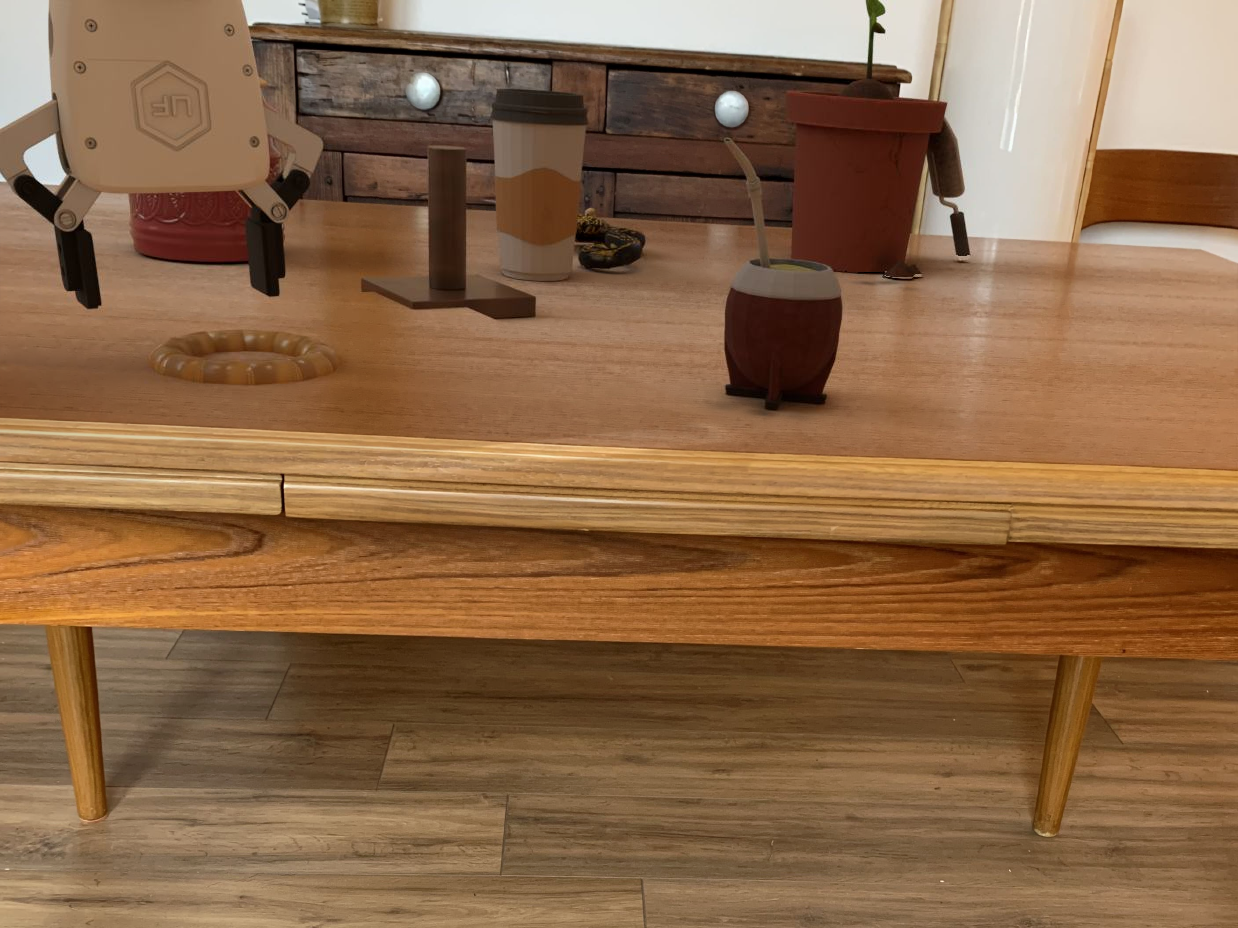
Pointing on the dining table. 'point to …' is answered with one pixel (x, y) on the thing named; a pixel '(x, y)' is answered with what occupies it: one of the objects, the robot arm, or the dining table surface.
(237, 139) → the robot arm
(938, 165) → the potted plant
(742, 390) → the mate gourd
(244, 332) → the ring
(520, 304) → the wooden peg stand
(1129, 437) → the dining table surface
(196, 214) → the kitchen canister
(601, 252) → the rubber snake
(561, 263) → the coffee cup
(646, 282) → the dining table surface
